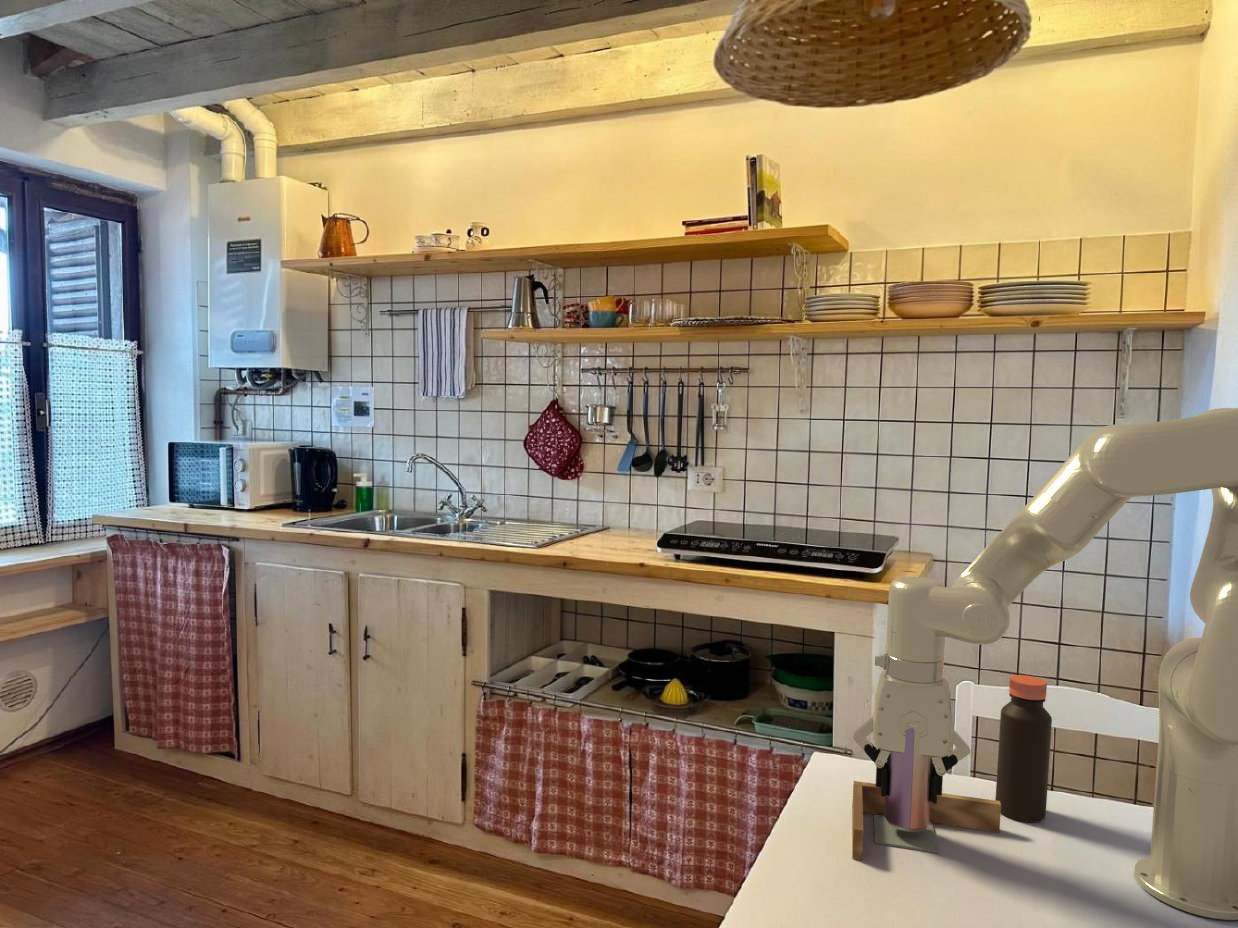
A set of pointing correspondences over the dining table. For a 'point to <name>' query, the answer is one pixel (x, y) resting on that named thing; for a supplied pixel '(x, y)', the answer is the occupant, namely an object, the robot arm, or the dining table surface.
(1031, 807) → the bottle
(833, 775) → the dining table surface
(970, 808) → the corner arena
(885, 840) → the pad
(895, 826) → the beverage can
